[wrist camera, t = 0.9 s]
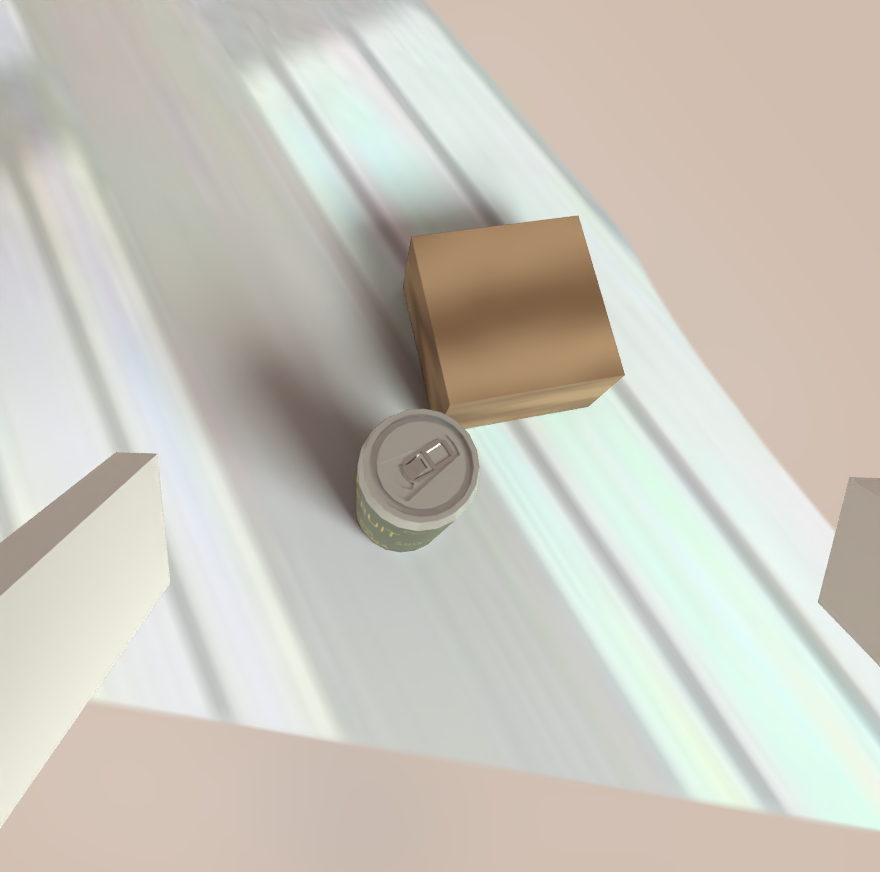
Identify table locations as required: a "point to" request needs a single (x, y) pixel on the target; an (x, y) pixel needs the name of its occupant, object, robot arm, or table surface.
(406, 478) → the guarana soda can
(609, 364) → the walnut block
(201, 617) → the table surface
